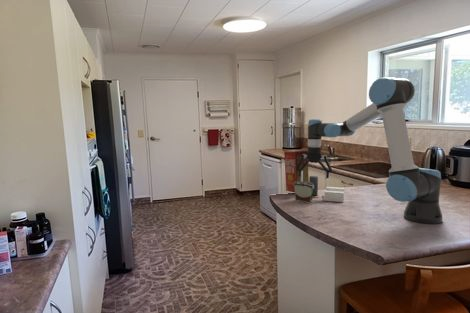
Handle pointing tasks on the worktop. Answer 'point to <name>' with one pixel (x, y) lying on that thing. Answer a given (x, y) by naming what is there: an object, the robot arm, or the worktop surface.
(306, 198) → the food container
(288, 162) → the food packaging
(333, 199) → the socket block
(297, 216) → the worktop surface
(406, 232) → the worktop surface
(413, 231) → the worktop surface
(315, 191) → the dark gray rounded peg
